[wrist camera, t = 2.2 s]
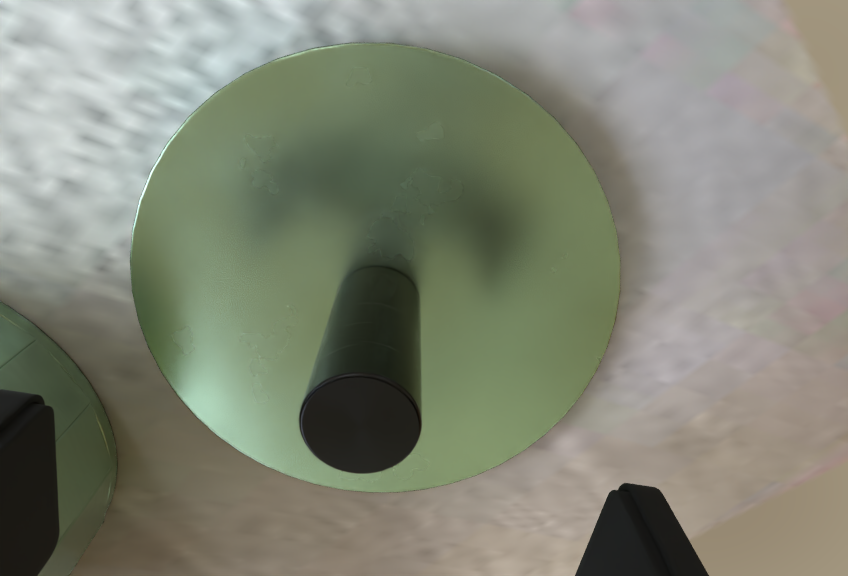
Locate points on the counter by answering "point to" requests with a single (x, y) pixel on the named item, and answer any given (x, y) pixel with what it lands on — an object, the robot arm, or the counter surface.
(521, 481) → the counter surface
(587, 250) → the lid
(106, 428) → the pot
